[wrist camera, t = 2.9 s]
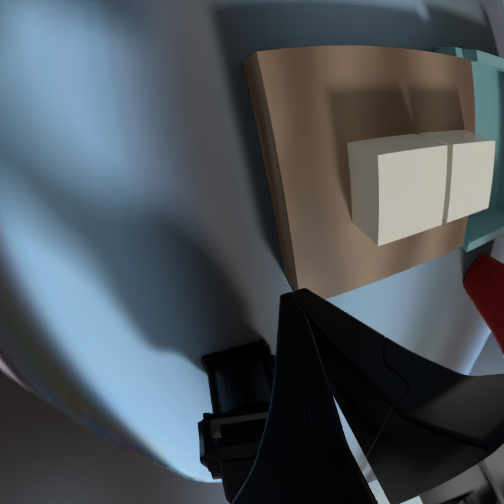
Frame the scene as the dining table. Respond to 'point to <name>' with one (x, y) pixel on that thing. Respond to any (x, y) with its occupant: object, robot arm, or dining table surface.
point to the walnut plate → (336, 151)
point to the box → (491, 126)
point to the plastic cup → (488, 293)
